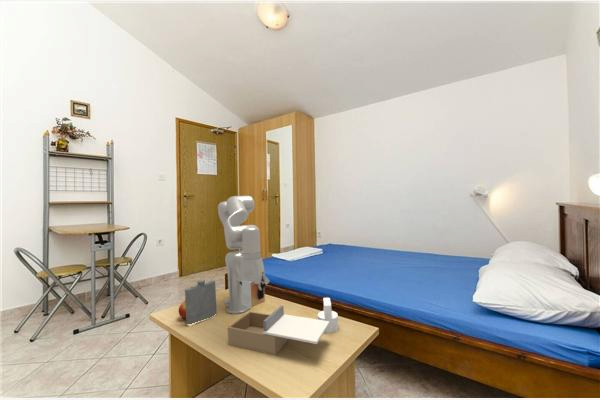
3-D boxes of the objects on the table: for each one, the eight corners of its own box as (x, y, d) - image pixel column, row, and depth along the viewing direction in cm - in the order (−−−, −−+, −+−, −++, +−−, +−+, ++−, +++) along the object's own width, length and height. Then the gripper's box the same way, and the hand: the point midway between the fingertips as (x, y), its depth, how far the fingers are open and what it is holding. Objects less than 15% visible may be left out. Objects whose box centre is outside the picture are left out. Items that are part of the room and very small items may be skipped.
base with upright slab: (317, 323, 124) (316, 297, 123) (337, 322, 123) (336, 297, 123) (318, 333, 115) (317, 305, 114) (339, 332, 114) (338, 305, 114)
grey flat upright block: (214, 312, 140) (212, 275, 139) (218, 314, 137) (217, 276, 137) (185, 325, 127) (183, 284, 127) (189, 327, 125) (187, 285, 125)
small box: (251, 308, 108) (250, 282, 108) (242, 305, 111) (241, 280, 111) (265, 301, 114) (264, 277, 114) (256, 299, 118) (255, 275, 117)
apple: (197, 318, 134) (196, 299, 134) (180, 323, 129) (179, 303, 129) (194, 313, 141) (193, 294, 140) (177, 317, 136) (176, 298, 136)
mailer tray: (228, 344, 109) (227, 327, 109) (250, 326, 124) (249, 311, 123) (275, 354, 100) (274, 336, 100) (292, 333, 115) (292, 318, 115)
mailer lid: (263, 333, 102) (262, 321, 102) (281, 315, 117) (281, 305, 117) (316, 344, 93) (316, 330, 93) (329, 323, 108) (329, 311, 108)
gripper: (229, 256, 112) (231, 298, 113) (264, 258, 106) (266, 303, 106) (240, 253, 119) (242, 292, 120) (273, 254, 113) (275, 296, 113)
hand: (253, 297), depth 113 cm, fingers closed on small box, 6 cm apart
